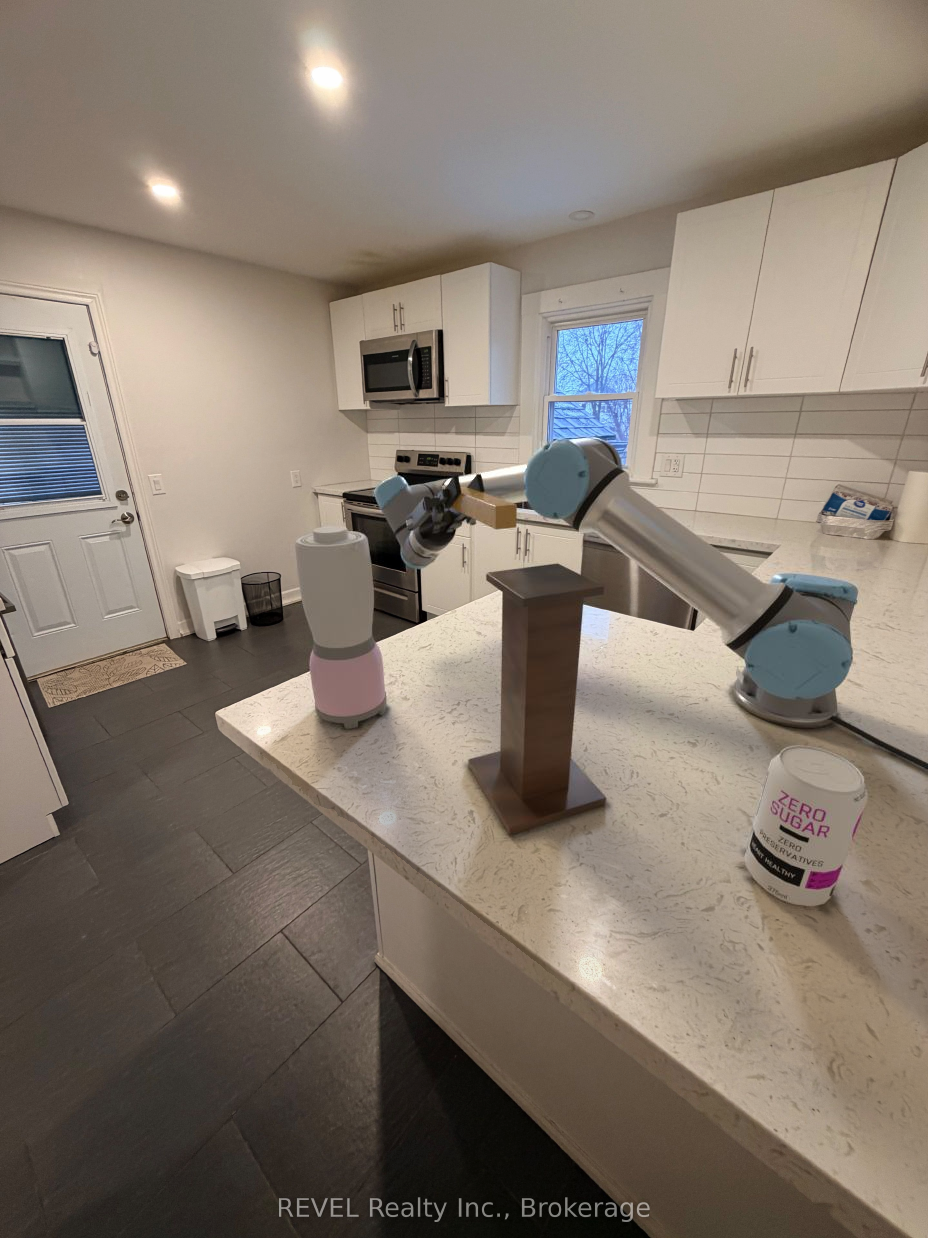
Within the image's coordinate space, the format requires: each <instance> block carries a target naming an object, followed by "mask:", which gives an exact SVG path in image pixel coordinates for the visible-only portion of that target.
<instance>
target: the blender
mask: <svg viewBox="0 0 928 1238" xmlns="http://www.w3.org/2000/svg"><path fill="white" fill-rule="evenodd" d="M294 548H295V559H296V560H295V561H296V571H297V578H298V586H299V591H300V599H301V603H302V607H303V611H304V615H305V618H306V619H307V620H306V621H307V623H308V626H309V629H310V632H311V636H312V639H313V646H312V650H311V653H310V657H309V675H310V681H311V687H312V692H313V693H312V694H313V698H314V708H315V712H316V714H317V716H318V717H320V718H321V719H322V720H324V721H327V722H330V723H336V724H343V726H344V729H346V730H347V729H348V730H349V729H350V730H351V729H355V728H359V722H362V721H364V720H367V719H370V718H372V717H374V716H375V715H377V714H378V715H380V716H382V715H384V713H385V711H386V709H387V692H386V686H385V672H384V662H383V655H382V652H381V649H380V646H379V645H378V644H377V642H376V641H375V639H374V635H373V622H374V610H375V609H374V608H375V607H374V606H375V591H374V589H375V587H374V578H373V567H372V559H371V554H370V546H369V539H368V536H366V535H365V534H364V533H362V532H359V531H352V530H348V528H347V527H346V526H344V525H343V526H342V525H326V526H320V527H316V528H314V529H313V531H312V533H309V534H306V535H303V536H300V537H298V538H297V539H296V540H295V542H294Z"/></svg>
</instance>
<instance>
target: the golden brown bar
mask: <svg viewBox="0 0 928 1238" xmlns="http://www.w3.org/2000/svg"><path fill="white" fill-rule="evenodd" d="M446 487H447V485H443V486H442V489H445V488H446ZM460 487H461V492H462V493H461V494H460V495H459V497H458V498H457V499H456V501H455V502H454V503H453V505H452V506H451V508H453V509H455V510H457V511H459V512H461V513H463V514H465V515H467V516H469V517H471V518H473V519H475V520H476V522H480V523H481V524H484V525H486V526H487V527H490V528H492V529H494V530H504V529H514V528H517V517H518V514H517V513H518V504H517V503H511V502H508V501H505V500H502V499H499V498H496V497H493V496H490V495H488V494H485V493H482V492H479V491H476V490H473V489H470V488H467V487H464V486H462V485H460Z"/></svg>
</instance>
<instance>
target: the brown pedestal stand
mask: <svg viewBox="0 0 928 1238" xmlns="http://www.w3.org/2000/svg"><path fill="white" fill-rule="evenodd" d="M485 580H486V581H487V582H488V583H489V584H490V585H492V586H493V587H494V588H496V589H497V590H499V591H500V592H501V593H502V599H501V600H502V601H501V668H500V669H501V673H500V741H499V742H500V745H499V746H500V747H499V749H500V750H499V751H494V752H491V753H487V754H483V755H479V756H475V757H472V758H468V759H467V764H468V765H467V766H468V768H469V769H470V771H471V773H472V775H473V776H474V779H475V780H476V781H477V783H478V784H479V786H480V788H481V790H482V791H483V793H484V795H485V797H486V798H487V800H488V802H489V804H490V805H491V807H492V809H493V811H494V812H495V814H496V815H497V817H498V819H499V820H500V822H501V824H502V825H503V827H504V829H505V831H506V832H507V834H508V836H512V835H515V834H519V833H521V832H525V831H527V830H531V829H533V828H536V827H540V826H543V825H546V824H549V823H552V822H556V821H558V820H561V819H565V818H567V817H571V816H574V815H578V814H580V813H583V812H587V811H590V810H592V809H593V810H594V809H596V808H599V807H603V806H605V805H606V803H607V797H606V796H605V794H604V793H603V792H602V791H601V790H600V789H599V787H597V786H596V784H594V782H593V781H592V780H591V779H590V777H588V776H587V774H585V773H584V771H583V770H582V769H581V768H580V767H579V766H578V765H577V764H576V762H574V760H573V759H572V751H573V750H572V748H573V736H574V725H575V723H574V722H575V712H576V699H577V698H576V697H577V685H578V675H579V664H580V663H579V662H580V651H581V640H582V639H581V637H582V636H581V635H582V625H583V614H584V613H583V611H584V602H585V601H584V600H585V598H591V597H597V596H598V597H599V596H603V595H605V594H604V593H605V586H604V585H603V584H600V583H598V582H597V581H595V580H592V579H591V578H589V577H586V576H584V575H582V574H580V573H578V572H576V571H574V570H572V569H570V568H568V567H566V566H564V565H562V564H560V563H550V564H542V565H534V566H526V567H518V568H513V569H503V570H496V571H489V572H486V574H485Z"/></svg>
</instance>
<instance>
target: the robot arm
mask: <svg viewBox="0 0 928 1238" xmlns="http://www.w3.org/2000/svg"><path fill="white" fill-rule="evenodd" d="M618 452H619V451H617V449H616V448H615V447H614V446H613V445H612V444H611V443H610V442H608V441H607V440H605V439H602V438H599V437H593V436H591V437H590V436H588V437H582V438H581V437H580V438H571V439H570V438H569V439H556V440H554V441H553V440H552V441H551V442H549V443H546V444H544V445H543V446H541V447H540V448H539V447H538V449H537V450H535V452H534V453H533V454H532V455H531V457H530V458H529V460H528V462H522V463H517V464H511V465H507V466H503V467H502V466H501V467H498V468H493V469H489V470H483V471H478V472H473V473H469V474H464V475H453V476H452V477H449V478H444V479H438V480H435V481H430V482H425V483H418V484H413V485H409V483H408V482H407V480H406V479H405V478H404V477H403V476H401V475H393V476H391V477H387V478H386V479H384V480H383V481H381V482H380V483H379V484H377V486H376V487H375V488H374V490H373V495H374V497H375V501H376V503H377V505H378V507H379V510H380V511H381V513H382V514H383V516H384V517H385V518H384V519H386V521H387V523H388V525H389V527H390V528H391V531H392V532H393V534H394V535H395V538H396V540H397V541H398V543H399V546H400V556H401V560H402V561H403V563H404V564H405V565H406V566H407V567H409V568H411V569H415V570H421V569H424V568H427V567H429V565H431V564H433V563H434V562H435V561H436V559H437V558H438V557H439V555H440V554H441V553H442V551H443V550H444V549H446V547H447V546H448V545H450V543H451V542H452V541H453V539H454V537H455V536H456V533H457V529H459V528H461V527H462V526H463V524H465V523H466V525H470V526H475V525H477V520H475V519H473V518H471V517H469V516H467V515H465V514H463V513H461V512H459V511H457V510H455V509H453V508H451V506H452V505H453V503H454V502H455V501H456V499H457V498H458V497H459V495H460V494H461V493H462V492H461V487H460V485H462V486H464V487H467V488H470V489H473V490H476V491H479V492H482V493H485V494H488V495H490V496H493V497H496V498H499V499H502V500H505V501H508V502H511V503H514V504H517V503H525V502H527V503H528V504H529V506H530V507H531V508H532V510H533V511H534V512H535V513H537V514H538V515H539V516H541V517H543V518H546V519H549V520H555V521H557V520H563V522H564V523H566V524H568V525H569V526H570V527H571V528H573V529H574V530H576V531H577V532H578V533H579V534H581V535H585V534H591V533H592V534H593V533H595V534H596V535H598V536H599V537H601V538H602V539H603V540H605V541H606V542H607V543H609V544H610V545H611V546H612V547H613V548H615V549H616V550H618V551H619V552H620V553H622V554H623V555H624V556H626V557H627V558H628V559H629V560H631V561H632V562H633V563H635V565H637V566H639V567H640V568H641V569H642V570H644V571H645V572H646V573H647V574H649V575H650V576H651V577H653V578H654V579H656V580H657V581H659V582H660V583H661V584H662V585H664V586H665V587H667V589H669V590H670V591H671V592H672V593H674V594H675V595H677V597H679V598H681V599H682V600H683V601H684V602H686V603H687V604H688V605H690V606H691V607H692V608H693V609H695V610H696V611H698V612H699V613H700V614H702V616H704V617H705V618H707V619H708V620H709V621H710V622H712V623H713V624H715V626H717V627H718V628H719V629H720V632H721V640H722V644H723V645H725V646H726V647H727V648H728V649H729V650H731V651H732V652H733V653H735V654H736V655H737V656H739V657H740V658H741V659H743V661H744V664H745V666H744V667H743V669H742V671H741V669H739V667H738V666H736V669H735V676H736V677H737V678H736V679H735V681H734V685H733V689H732V696H733V698H734V700H735V701H736V703H737V704H738V705H739V707H741V708H743V709H744V710H745V711H747V712H748V713H750V714H752V715H754V716H756V717H757V718H760V719H763V720H765V721H768V722H771V723H774V724H777V725H782V726H785V727H791V728H799V729H816V728H822V727H826V726H828V725H831V723H833V722H834V723H835V724H837V725H839V726H841V727H843V728H845V729H846V730H849V731H851V732H852V733H854V734H856V735H858V736H860V737H862V738H864V739H865V740H867V741H869V742H871V743H872V744H875V745H877V746H879V747H881V748H882V749H885V751H888V752H890V753H892V754H895V755H897V756H898V757H901V758H903V759H905V760H906V761H909V762H911V763H913V764H915V765H917V766H920V767H921V768H923V769H925V770H927V771H928V762H927V761H924V760H922V759H921V758H918V757H916V756H914V755H912V754H910V753H908V752H906V751H903V750H902V749H900V748H897V747H896V746H893V745H891V744H889V743H887V742H886V741H883V740H881V739H879V738H877V737H875V736H873V735H872V734H870V733H868V732H866V731H864V730H862V729H860V728H859V727H857V726H855V725H853V724H851V723H849V722H847V721H845V720H843V719H841V718H839V717H837V716H836V715H837V711H838V701H837V699H838V698H837V691H836V689H837V688H839V686H841V685H842V684H843V682H844V681H845V680H846V678H847V676H848V675H849V672H850V668H851V666H852V663H853V659H854V656H853V655H854V649H853V646H852V637H851V635H852V634H851V633H852V632H851V620H852V617H853V612H854V609H855V606H856V605H857V604H858V594H859V589H858V587H857V586H856V585H854V584H853V583H852V582H851V583H850V582H848V581H846V580H841V579H837V578H831V577H826V576H821V575H813V574H807V573H806V574H805V573H788V572H785V573H778V574H775V575H774V576H773V577H771V579H770V582H769V583H767V582H763V581H762V580H760V579H759V578H757V577H756V576H755V575H754V574H752V573H751V572H749V571H748V570H747V569H745V568H744V567H742V566H740V565H739V564H738V563H736V562H735V561H734V560H732V559H731V558H729V557H728V556H727V555H725V554H724V553H722V552H721V551H720V550H718V549H717V548H715V546H713V545H711V544H710V543H709V542H707V541H705V539H703V538H701V536H699V535H698V534H696V533H695V532H693V530H690V529H689V528H688V527H686V526H685V525H683V524H682V523H681V522H679V521H678V520H676V519H675V518H673V517H672V516H671V515H669V514H668V513H667V512H665V511H664V510H662V509H661V508H660V507H658V506H657V505H656V504H654V503H653V502H651V501H650V500H649V499H647V498H646V497H644V496H643V495H641V494H640V493H639V492H638V491H636V490H634V489H633V488H632V486H631V482H630V474H629V472H628V471H626V470H624V469H623V463H622V459H621V456H620V454H619V453H618ZM443 485H447V487H446V488H445V489H442V486H443Z"/></svg>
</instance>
